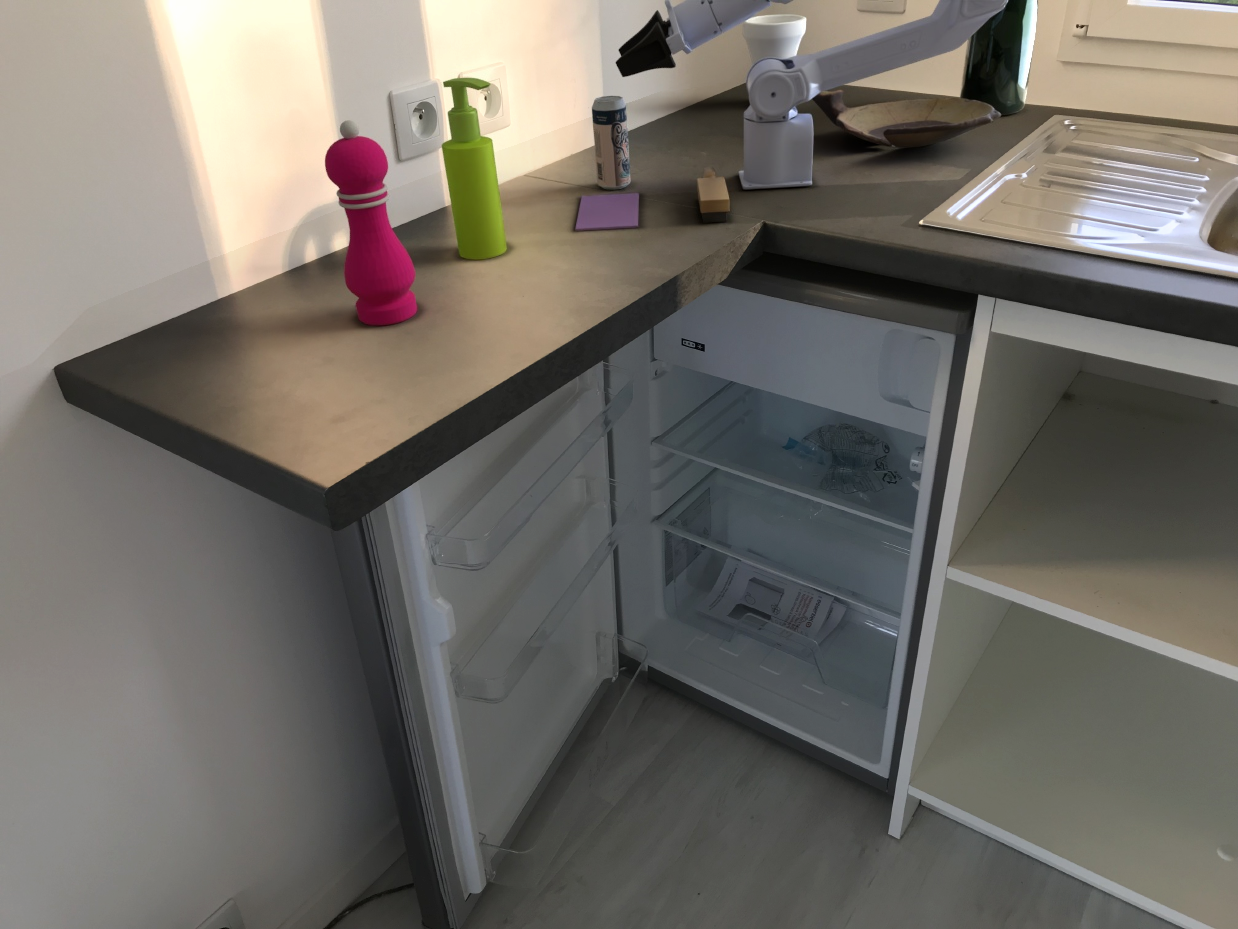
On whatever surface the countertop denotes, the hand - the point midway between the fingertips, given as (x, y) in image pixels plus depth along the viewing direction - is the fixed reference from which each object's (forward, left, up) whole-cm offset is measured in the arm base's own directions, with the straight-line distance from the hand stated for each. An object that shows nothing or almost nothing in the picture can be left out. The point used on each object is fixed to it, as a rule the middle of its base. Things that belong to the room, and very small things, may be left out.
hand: (620, 62), depth 125 cm
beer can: (+2, -1, -17) cm, 17 cm away
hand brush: (-11, +10, -17) cm, 22 cm away
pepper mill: (+25, +42, -17) cm, 52 cm away
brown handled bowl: (-42, -17, -17) cm, 48 cm away
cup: (-26, -49, -17) cm, 58 cm away
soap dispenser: (+17, +24, -17) cm, 34 cm away
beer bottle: (-61, -33, -17) cm, 71 cm away
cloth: (+2, +11, -17) cm, 20 cm away
